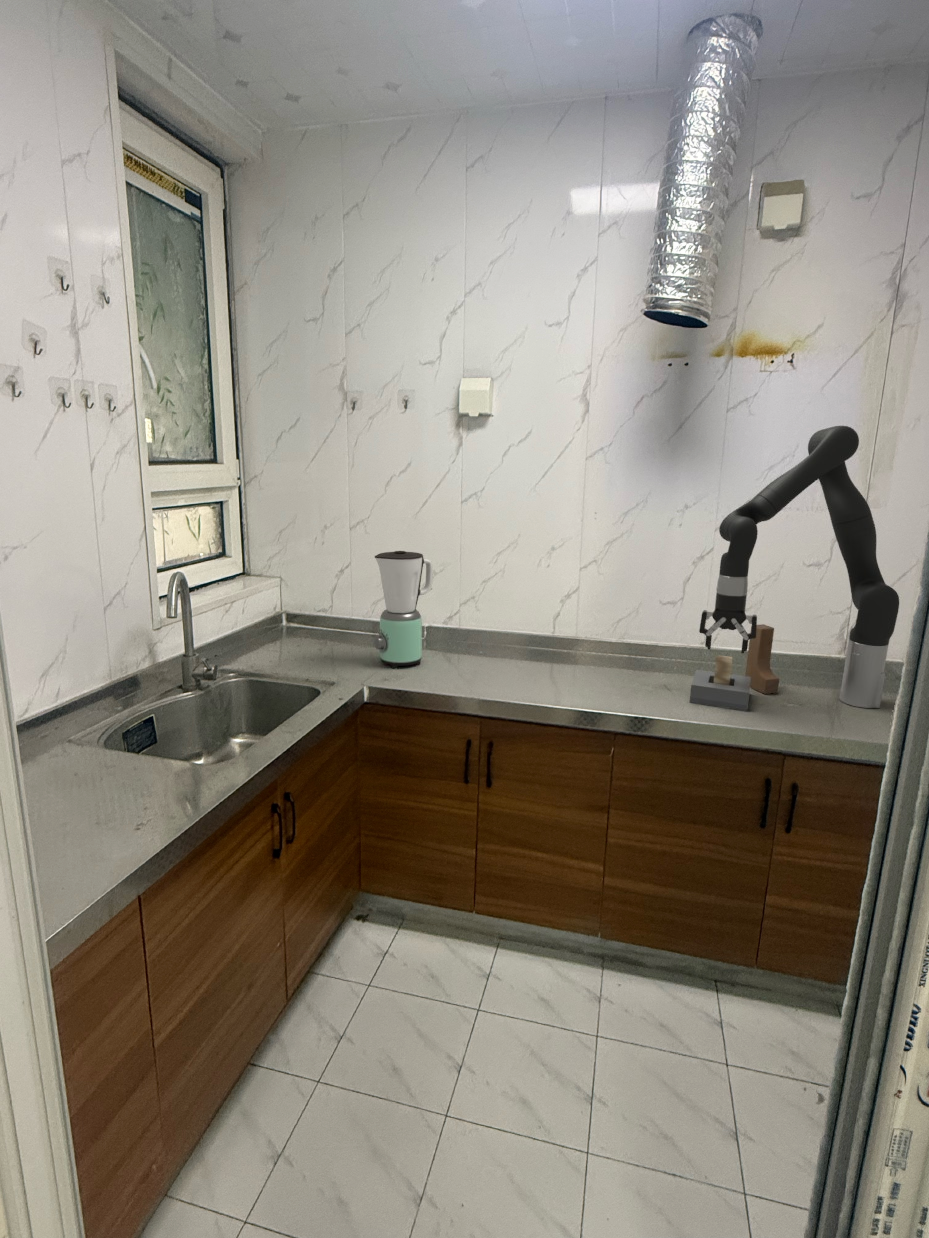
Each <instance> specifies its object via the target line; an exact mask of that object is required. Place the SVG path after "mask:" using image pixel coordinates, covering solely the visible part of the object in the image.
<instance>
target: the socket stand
mask: <svg viewBox="0 0 929 1238" xmlns="http://www.w3.org/2000/svg"><path fill="white" fill-rule="evenodd" d="M714 674H715V671H708V670H702V669H696V670H695V672H694V675H693V678H692V681H691V684H690V693H689V703H692V704H698V705H705V706H711V707H718V708H725V709H732V710H737V711H746V712H748V710H749V709H748V708H749V699H750V692H751V687H750V680H751V677H748V676H745V675H739V674H733V673H732V674H730V683H729V685H722V684H715V683H714Z"/></svg>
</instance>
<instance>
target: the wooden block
mask: <svg viewBox="0 0 929 1238" xmlns="http://www.w3.org/2000/svg"><path fill="white" fill-rule="evenodd" d="M751 629H752V625H751V627H750V630H751ZM774 632H775V628H774V627H772V626H771V625H768V624H767V625H766V624H764V623H763V624H757V629H756V638H754V639H753V638H752V639H749V640H748V648H747V656H746V657H747V658H746V665H745V673H744V676H748V677H751V680H750V689H753V690H755V691H757V692H760V693H761V694H763V693H764V694H763V695H770V694H771V693H773V694H777V693H778V690H779V684H780V678H779V677H778V676H776V674H774V673H773V670H772V669H771V656H772V649H773V642H774V634H775V633H774ZM749 633H751V631H749Z"/></svg>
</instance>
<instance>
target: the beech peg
mask: <svg viewBox="0 0 929 1238" xmlns="http://www.w3.org/2000/svg"><path fill="white" fill-rule="evenodd" d="M732 663H733V656H727V655H726V656H725V655H720V654H719V655H718V654H717V655H716V658H715V666H714V667H715V668H714V672H715V674H714V683H715V684H722V685H729V683H730V674H731V673H732V672H731V671H732V667H733V665H732Z"/></svg>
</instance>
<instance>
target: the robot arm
mask: <svg viewBox="0 0 929 1238" xmlns="http://www.w3.org/2000/svg"><path fill="white" fill-rule="evenodd" d="M859 443H860V438H859V435H858V433H857V431H856V430H855V429H854V428H852V427H851V426H848V425H835V426H831V427H827V428H824V429H823V428H822V429H819V430H817V431H816V432H815V433H813V434H812V435H811V437H810V438H809V440H808V444H807V452H808V455H807V456H806V457H805V458H804V459H803V460H801V461H799V463H797V464H796V465H795V466H793V467H792V468H791V469H789V470H787V471H786V472H784V473H783V474H781V475H780V476H778V477H776V478H775V479H774V480H773V481H771V482H770V483H769V484H767V485H766V486H765V487H764V488H763V489H762V490H760V491H759V493H757V494H756V495H755V496H754V497H753V498H752V499H751V500H749V501H747V502H745V503H744V504H742V505H741V506H739V507H738V508H736V509H735V510H733V511H731V512H730V513H728V514H727V516H726V517H724V518H723V520H722V521H721V523H720V525H719V529H718V530H719V532H718V533H719V535H720V537H721V538H722V539H723V540H725V541H727V542H729V546H728V550H727V552H724V553H722V555H721V558H720V564H719V574H718V578H717V585H716V596H715V605H714V611H708V610H706V609H705V610H703V611H702V613H701V617H700V624H699V630H698V632H699V633H700V634H702V635H705V645H704V647H706V648H707V650H711V648H712V647H711V646H712V639H713V637H712V636H713V633H714V632H716V631H717V630H718V629H719V628H720V629H721V630H730V631H735V630H737V632H738V633H739V634H740V635H741V637H742V642H741V643H742V644H741V650H740V653H741V654H745V652H748V648H749V641H750V639H752V638H753V639H754V638H756V629H757V625H758V624H757V623H758V616H757V614H752V615H748V614H746V605H747V596H748V592H749V591H748V590H749V589H748V588H749V587H748V586H749V582H748V581H749V578H748V577H749V568H750V559H751V557H752V554H753V551H754V549H755V546H756V543H757V540H758V526H757V525H758V524H759V523H761V522H768V521H769V520H771V519H773V518H774V517H775V516H776V515H777V514H779V512H780V511H782V510H783V509H785V507H786V506H788V504H790V503H791V502H792V501H793V500H794V499H796V498H797V497H798V496H799V495H801V493H802V492H804V491H805V490H806V489H807V488H808V487H810V486H811V485H812V484H814V483H815V482H816V481H817V480H818V481H819V484H820V486H821V489H822V490H821V491H822V492H823V497H824V499H825V503H826V507H827V510H828V514H829V517H830V520H831V521H830V522H831V526H832V529H833V533H834V536H835V539H836V542H837V546H838V548H839V550H840V551H839V552H840V553H841V556H842V559H843V562H844V563H845V567H846V570H847V574H848V575H847V576H848V580H849V586H850V592H851V600H852V603H853V605H854V607H855V608H856V609H857V616H856V620H855V624H854V627H852V628H851V629H850V631H849V637H848V638H849V639H848V643H847V650H846V655H845V662H844V668H843V675H842V682H841V686H840V687H841V688H840V693H839V700H840V701H841V702H842V703H844V704H846V705H849V706H852V707H853V706H854V707H857V708H865V709H867V708H868V709H869V708H870V709H872V708H877V709H880V708H881V700H882V695H883V688H884V684H885V678H886V673H885V668H886V662H887V656H888V650H889V645H890V641H891V637H892V636H893V635H894V631H895V628H896V623H897V619H898V613H899V608H900V596H899V593H898V592H897V591H896V590H895V589H894V588H893V587H891V586H889V584H886V581H885V580H884V577H883V575H882V573H881V570H880V567H879V564H878V560H877V529H876V525H875V521H874V518H873V515H872V511H871V508H870V505H869V504H868V502H867V500H866V499H865V497H864V496H863V495H862V493H861V492H860V491H859V490H858V488H857V487H856V485H855V484H854V483H853V481H852V479H851V476H850V475H849V472H848V468H847V465H846V461H848V460H849V459H850V458H852V457H853V456H854V455H855V453H856V452H857V450H858V448H859V445H860V444H859ZM710 617H712V619H713V620H714V621H715V622H714V623H713V624H712V626H710V627H709V628H706V622H707V621H708V620H709V619H710ZM745 621H748V624H750V625H751V626H752V629H751V628H750V632H751V633H750V632H749V633H748V632H747V631H746V629H745V627H744V625H743V623H744V622H745Z"/></svg>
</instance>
